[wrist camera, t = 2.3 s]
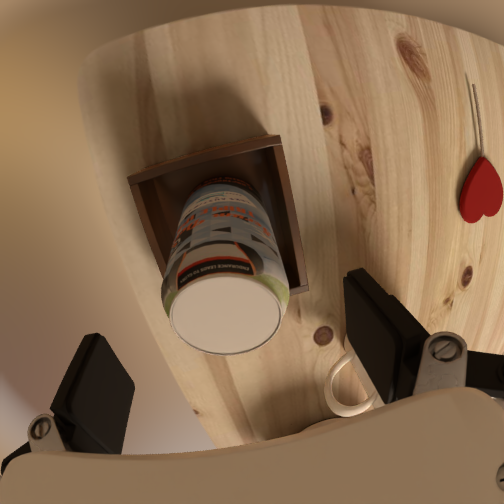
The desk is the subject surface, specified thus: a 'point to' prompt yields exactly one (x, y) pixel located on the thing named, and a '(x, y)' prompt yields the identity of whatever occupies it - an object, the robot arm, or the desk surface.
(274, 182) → the wooden box
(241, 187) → the beverage can
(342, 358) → the mug
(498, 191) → the lollipop
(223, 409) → the desk surface
